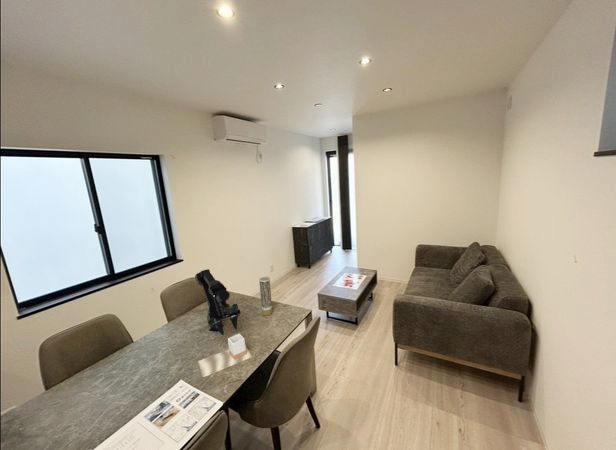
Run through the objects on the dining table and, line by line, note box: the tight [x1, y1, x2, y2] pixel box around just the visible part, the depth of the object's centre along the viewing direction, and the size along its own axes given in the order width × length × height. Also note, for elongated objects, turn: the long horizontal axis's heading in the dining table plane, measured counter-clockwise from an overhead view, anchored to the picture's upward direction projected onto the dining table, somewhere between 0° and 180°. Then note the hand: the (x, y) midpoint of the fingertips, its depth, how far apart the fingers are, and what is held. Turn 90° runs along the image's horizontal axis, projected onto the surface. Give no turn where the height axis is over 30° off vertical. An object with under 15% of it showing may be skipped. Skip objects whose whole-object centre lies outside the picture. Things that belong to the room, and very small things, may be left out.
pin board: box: [198, 345, 253, 378], centre depth 129 cm, size 24×13×4 cm, turn 122°
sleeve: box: [227, 333, 246, 360], centre depth 132 cm, size 6×6×9 cm
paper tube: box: [259, 276, 273, 316], centre depth 171 cm, size 7×7×25 cm
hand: (229, 332), depth 139 cm, fingers open, 9 cm apart
